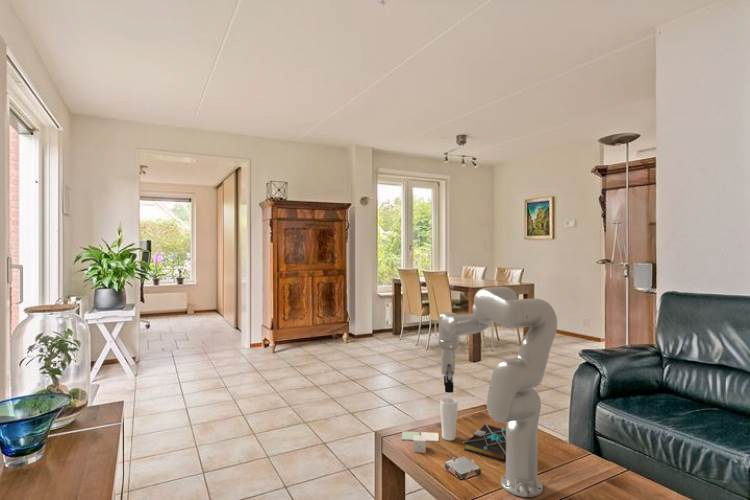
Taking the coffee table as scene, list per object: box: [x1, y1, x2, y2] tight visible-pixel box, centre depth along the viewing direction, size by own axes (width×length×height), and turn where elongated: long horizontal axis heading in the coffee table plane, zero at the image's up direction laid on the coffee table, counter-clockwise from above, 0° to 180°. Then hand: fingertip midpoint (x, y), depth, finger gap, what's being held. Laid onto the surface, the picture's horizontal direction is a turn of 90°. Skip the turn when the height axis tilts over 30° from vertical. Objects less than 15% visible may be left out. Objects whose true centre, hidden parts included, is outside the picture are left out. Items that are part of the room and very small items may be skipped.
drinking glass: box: [439, 397, 458, 442], centre depth 170 cm, size 7×7×15 cm
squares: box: [401, 430, 440, 443], centre depth 172 cm, size 7×14×1 cm, turn 84°
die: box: [412, 434, 427, 454], centre depth 161 cm, size 4×4×5 cm
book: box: [462, 422, 506, 464], centre depth 164 cm, size 22×17×5 cm
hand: (448, 388), depth 170 cm, fingers open, 7 cm apart
